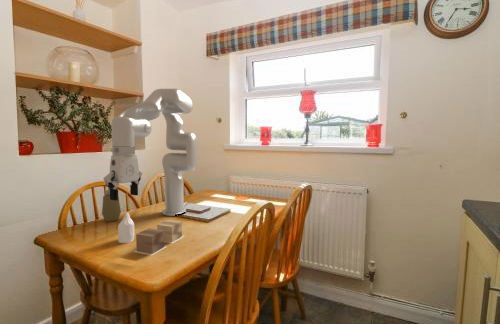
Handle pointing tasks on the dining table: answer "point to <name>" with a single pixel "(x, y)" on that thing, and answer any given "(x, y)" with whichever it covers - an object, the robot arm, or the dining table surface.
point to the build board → (160, 249)
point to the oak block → (171, 230)
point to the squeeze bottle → (110, 208)
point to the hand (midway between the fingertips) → (124, 197)
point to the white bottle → (126, 230)
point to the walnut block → (150, 240)
